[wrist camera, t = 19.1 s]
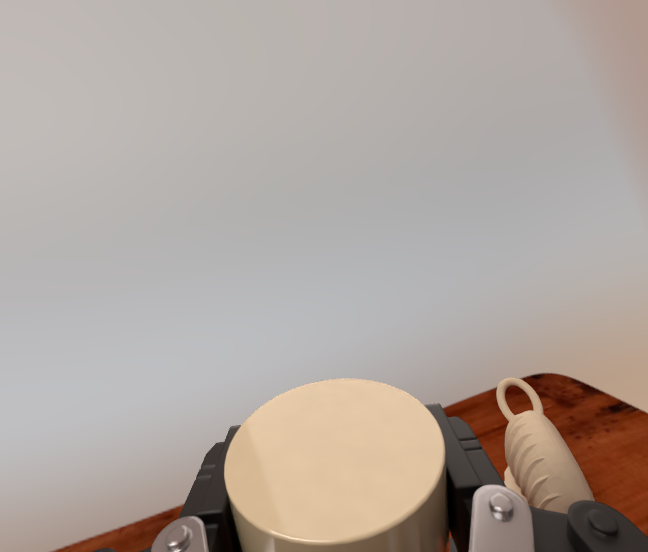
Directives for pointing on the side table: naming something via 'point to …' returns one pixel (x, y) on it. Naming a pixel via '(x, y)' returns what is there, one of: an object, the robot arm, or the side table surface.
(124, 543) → the side table surface
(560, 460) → the decorative ornament
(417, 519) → the canister
